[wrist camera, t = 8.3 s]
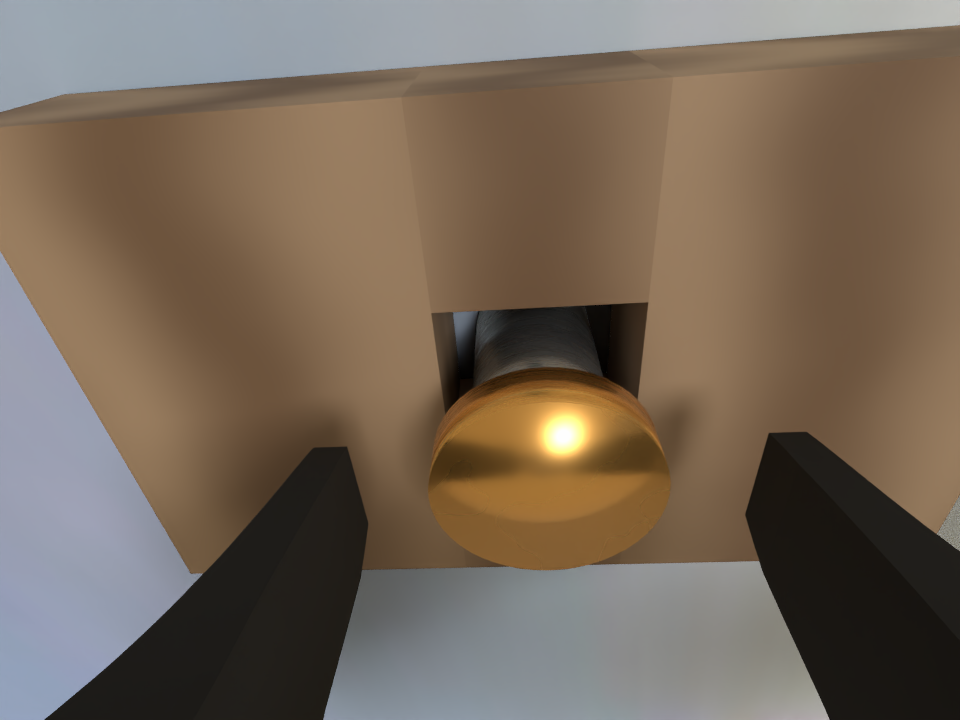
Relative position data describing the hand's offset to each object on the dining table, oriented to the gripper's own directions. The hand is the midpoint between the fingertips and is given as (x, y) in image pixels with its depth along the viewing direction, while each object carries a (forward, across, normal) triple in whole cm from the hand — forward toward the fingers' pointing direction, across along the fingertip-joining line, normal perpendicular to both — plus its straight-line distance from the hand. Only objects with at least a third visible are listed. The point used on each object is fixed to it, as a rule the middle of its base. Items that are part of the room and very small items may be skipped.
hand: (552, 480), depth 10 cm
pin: (+6, 0, 0) cm, 6 cm away
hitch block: (+6, 0, 0) cm, 6 cm away
